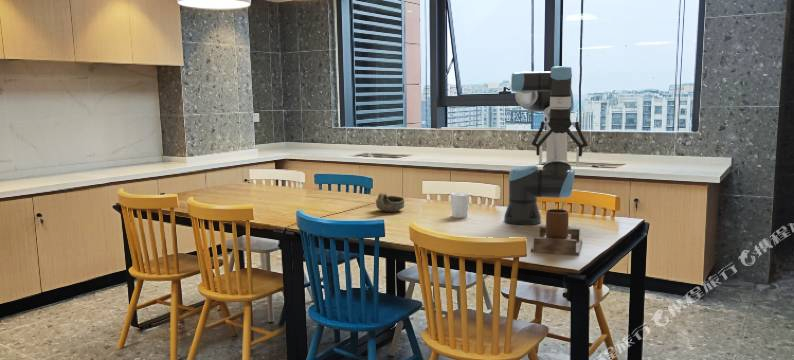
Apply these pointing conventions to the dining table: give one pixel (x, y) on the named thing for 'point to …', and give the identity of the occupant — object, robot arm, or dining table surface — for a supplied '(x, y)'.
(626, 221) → the dining table surface
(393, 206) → the bowl
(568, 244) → the peg stand
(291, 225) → the dining table surface
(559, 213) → the mug
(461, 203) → the white cup
